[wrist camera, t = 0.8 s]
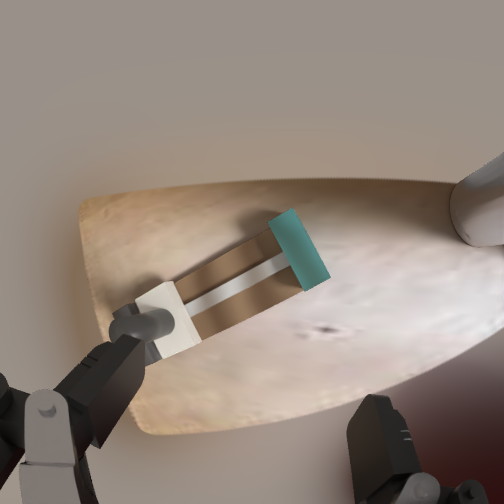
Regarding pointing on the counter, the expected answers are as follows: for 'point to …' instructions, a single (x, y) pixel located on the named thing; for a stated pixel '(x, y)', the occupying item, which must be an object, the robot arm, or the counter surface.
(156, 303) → the carriage
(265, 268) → the rail
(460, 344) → the counter surface
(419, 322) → the counter surface
